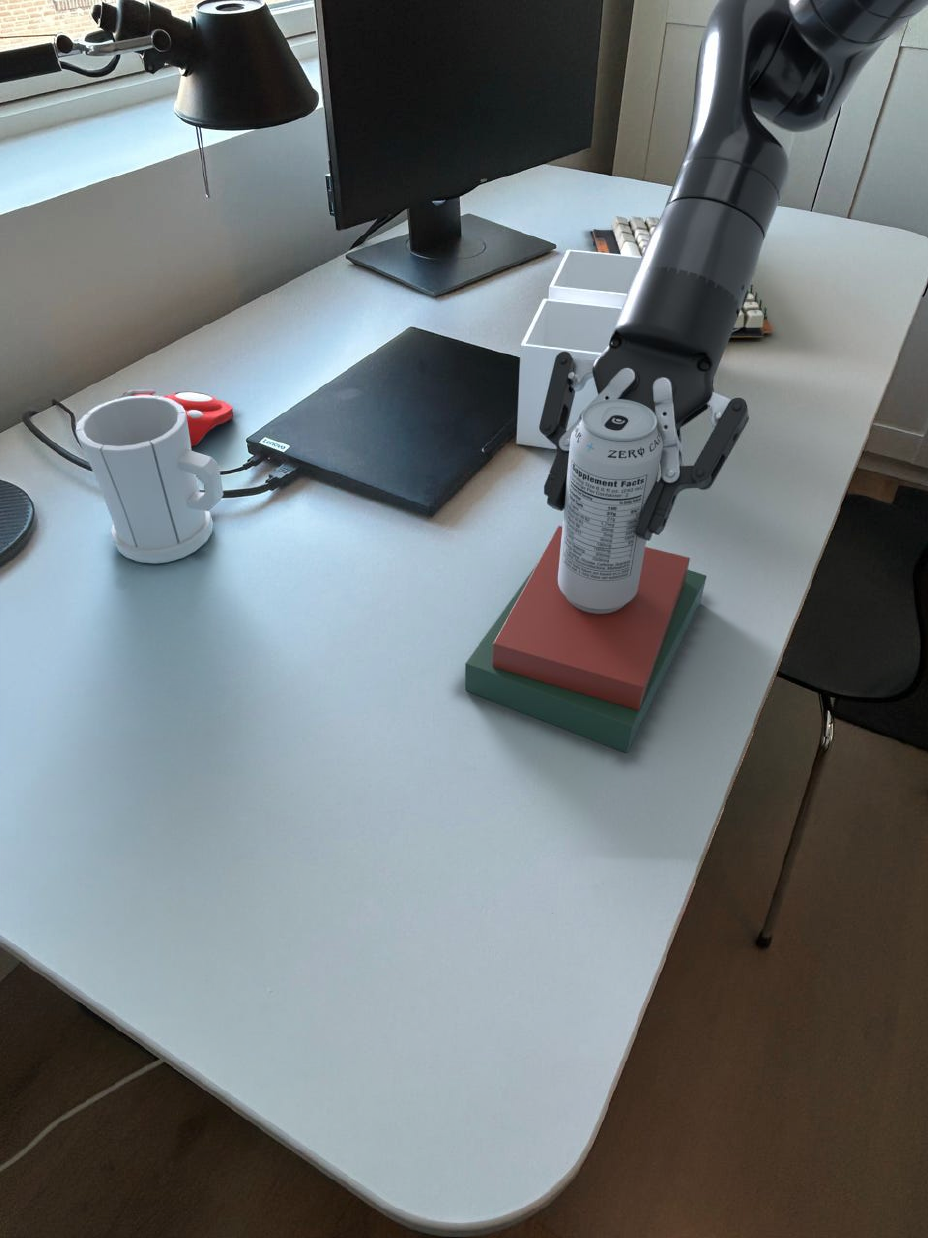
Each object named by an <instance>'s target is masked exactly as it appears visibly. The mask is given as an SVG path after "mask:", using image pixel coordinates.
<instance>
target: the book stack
mask: <svg viewBox="0 0 928 1238" xmlns="http://www.w3.org/2000/svg"><path fill="white" fill-rule="evenodd" d="M562 527H563V525H562V526H561V525H558V526H557V527H556V529H555V531H554V533H553V535H552V537H551V539H550V540H549V542H548V543H547V546H546V547H545V549H544V551H543V553H542V555H541V557H540V558H539V560H538V562H537V563H536V564H535V566H534V567H533V569H532V570H531V571H530V573H529V574H528V576H527V577H526V578H525V580H524V581H523V582H522V584H521V585H520V586H519V588H518V589H517V591H516V592H515V594H514V595H513V596H512V598H511V599H510V601H508V603H507V604H506V606H505V607H504V609H503V610H502V612H501V613H500V614H499V616H498V617H497V619H496V620H495V622H494V623H493V624H492V626H491V627H490V628H489V630H488V631H487V633H486V634H485V636H484V637H483V638H482V640H480V642H479V643H478V645H477V646H476V648H475V649H474V651H473V652H472V653H471V655H470V656H469V657H468V659H467V660H466V661H465V663H464V672H465V673H464V675H465V676H464V681H465V683H464V685H465V687H464V688H465V691H466V692H468V693H471V694H474V695H476V696H479V697H482V698H484V699H486V700H489V701H491V702H494V703H497V704H500V705H502V706H504V707H507V708H510V709H512V710H515V711H517V712H520V713H523V714H525V715H528V716H530V717H533V718H535V719H537V720H541V721H543V722H546V723H549V724H551V725H553V726H556V727H559V728H561V729H564V730H567V731H568V732H572V733H574V734H577V735H580V736H581V737H585V738H587V739H589V740H592V741H595V742H597V743H600V744H602V745H605V746H607V747H611V748H612V749H616V750H618V751H621V752H623V753H626V754H627V753H628V752H629V750H630V747H631V746H632V744H633V741H634V739H635V738H636V735H637V733H638V731H639V729H640V727H641V725H642V723H643V721H644V719H645V717H646V715H647V713H648V711H649V709H650V706H651V704H652V703H653V700H654V698H655V696H656V694H657V692H658V690H659V688H660V686H661V684H662V682H663V680H664V678H665V675H666V673H667V672H668V669H669V668H670V665H671V663H672V662H673V660H674V658H675V655H676V653H677V651H678V649H679V647H680V645H681V643H682V640H683V639H684V637H685V634H686V632H687V630H688V628H689V626H690V624H691V623H692V620H693V618H694V616H695V614H696V612H697V610H698V608H699V606H700V603H701V601H702V596H703V592H704V588H705V585H706V580H707V576H708V575H706V574H703V573H700V572H697V571H694V570H690V569H689V564H690V561H691V558H690V557H688V556H684V555H680V554H676V553H673V552H668V551H665V550H660V549H656V548H652V547H647V546H645V551H644V557H643V563H642V568H641V574H640V580H639V585H638V591H637V593H636V595H635V596H634V597H633V599H632V600H630V601H629V602H628V603H626V604H625V605H624V606H623V607H622V608H620V609H618V610H616V611H614V612H610V613H604V614H595V613H589V612H586V611H583V610H580V609H578V608H576V607H575V606H573V605H572V604H571V603H570V602H569V601H568V599H567V598H566V596H565V595H564V594H563V593H562V591H561V590H560V588H559V585H558V571H559V560H560V549H561V538H562Z"/></svg>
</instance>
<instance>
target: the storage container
mask: <svg viewBox="0 0 928 1238" xmlns="http://www.w3.org/2000/svg"><path fill="white" fill-rule="evenodd" d="M641 258H642V257H641V256H630V255H620V254H610V253H600V252H597V251H589V250H578V249H566V251H565V254H564V255H563V257H562V260H561V262H560V264H559V266H558V268H557V270H556V272H555V274H554V275H553V278H552V281H551V282H550V283H549V284H550V285H549V286H548V298H543V299H542V301H541V302H540V305H539V308H538V309H537V311H536V313H535V315H534V317H533V319H532V321H531V324H530V325H529V326H528V329H527V330H526V331H527V332H526V333H525V336H524V338H523V339H522V342H521V344H520V350H519V351H520V352H519V374H518V375H519V377H518V379H519V380H518V397H517V399H518V400H517V420H516V421H517V423H516V444H517V445H521V446H522V445H524V446H531V447H537V448H545V449H552V450H557V448H556V446H555V445H554V444H552V443H551V442H550V441H549V440H548V439H547V438H546V437H545V436H544V435H543V434H542V433H541V432H540V430H539V425H540V421H541V417H542V412H543V408H544V404H545V400H546V396H547V392H548V387H549V383H550V379H551V375H552V371H553V367H554V362H555V358H556V356H557V355H558V354H559V353H561V352H568V353H570V355H571V356H572V358H575V359H584V360H593V361H595V360H596V359H597V358H598V357H599V356H600V355H601V354H602V353H603V352H604V351H605V349H606V348H607V347H608V345H609V342H610V339H611V336H612V333H613V330H614V327H615V325H616V322H617V320H618V317H619V314H620V312H621V309H622V307H623V304H624V302H625V299H626V296H627V294H628V291H629V289H630V286H631V283H632V281H633V278H634V276H635V273H636V270H637V268H638V265H639V263H640V260H641ZM597 396H598V392H597V388H596V385H595V381H594V378H591V379H589V380H587V382H586V383H585V385H584V387H583V389H582V390H580V391H577V392H575V396H574V400H573V404H572V408H571V412H570V417H569V421H568V425H567V429H566V431H567V430H568V429H569V428H570V427H571V426H572V425H573V424H574V423H575V422H576V421H577V420H578V419H579V417H580V414H581V412H582V411H583V410H584V409H585V408H586V407H587V406H588V405H589V404H590V403H591V402H592V401H593V400H594V399H595V398H596V397H597Z"/></svg>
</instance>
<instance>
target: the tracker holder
mask: <svg viewBox="0 0 928 1238" xmlns="http://www.w3.org/2000/svg"><path fill="white" fill-rule="evenodd" d="M154 394H156V390H155V389H131V390H129V391H126V392H124V393H123V394H122V395H120V396H118V397H116V398H115V399H119V398H123V397H127V396H138V395H152V396H154ZM160 396H161V395H160ZM161 397H165V398H168V399H172V400H174V401H175V402H177V403H178V404H180V405H181V406H182V407H183V409H184V410H185V412H186V416H187V423H188V430H189V436H190V443H191V447H196V446H197V445H198V444H199V443H200V442H201V441H202V440H203V439H204V438H205V436H206V434H208V432H210V431H211V430H212V429H214V428H215V427H216V426H218V425H222V424H224V423H226V422H228V421H230V420H232V418H233V417H234V410H233V409H234V408H233V406H232V405H230V404H229V403H227V402H226V401H223V400H220V399H218V398H216V397H214V396H212V395H209V394H206V393H203V392H196V391H179V392H174V393H170V394H167V395H162V396H161Z"/></svg>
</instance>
